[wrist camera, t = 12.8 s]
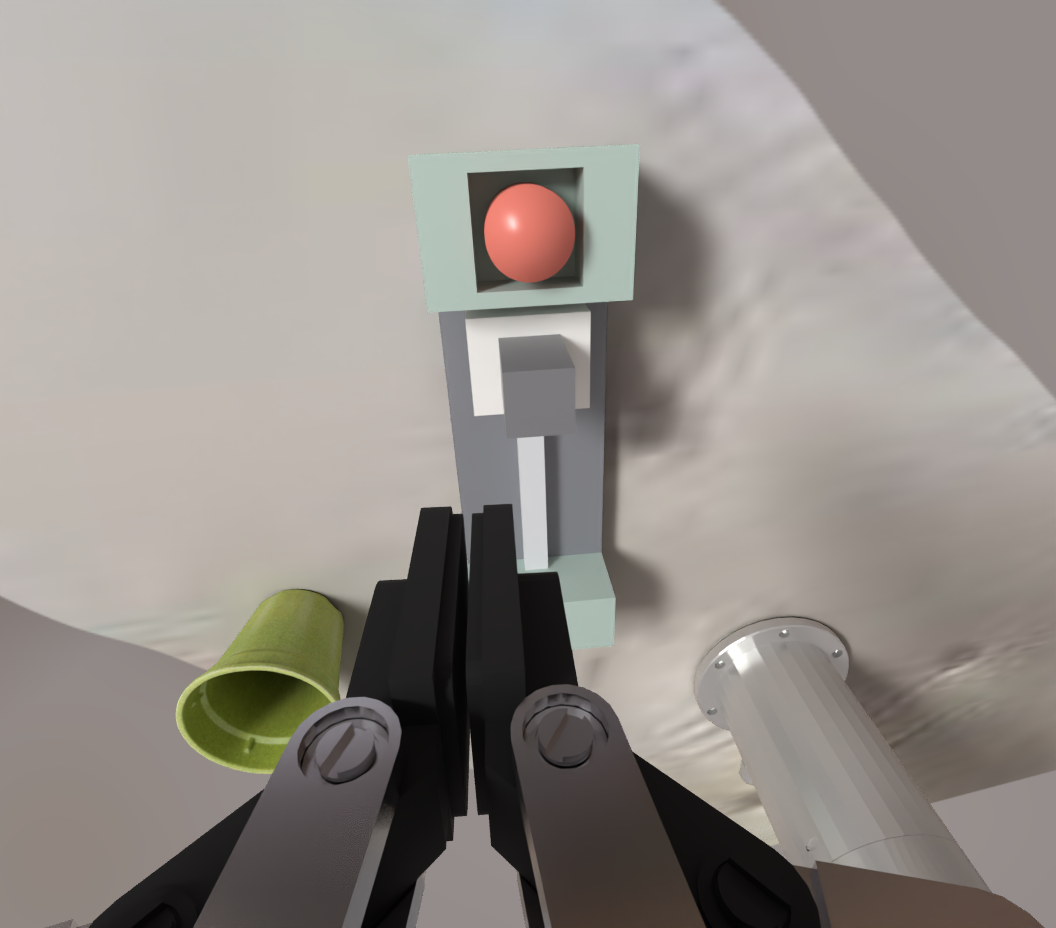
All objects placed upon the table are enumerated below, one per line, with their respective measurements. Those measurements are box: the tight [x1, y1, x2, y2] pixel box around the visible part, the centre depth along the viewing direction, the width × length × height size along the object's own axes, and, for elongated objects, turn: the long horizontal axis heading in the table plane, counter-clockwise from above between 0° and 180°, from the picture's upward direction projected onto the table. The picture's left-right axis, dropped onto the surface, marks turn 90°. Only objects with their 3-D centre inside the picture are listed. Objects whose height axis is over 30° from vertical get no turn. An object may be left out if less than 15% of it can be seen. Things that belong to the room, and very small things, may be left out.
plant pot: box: [176, 590, 344, 774], centre depth 38 cm, size 9×9×9 cm
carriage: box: [465, 303, 591, 439], centre depth 27 cm, size 5×6×7 cm
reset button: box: [484, 182, 575, 283], centre depth 24 cm, size 4×4×3 cm
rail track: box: [408, 144, 640, 650], centre depth 32 cm, size 28×9×7 cm, turn 2°
